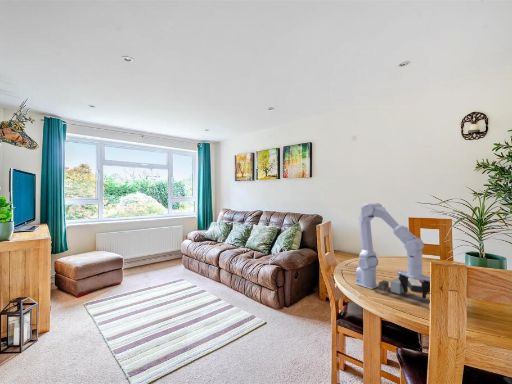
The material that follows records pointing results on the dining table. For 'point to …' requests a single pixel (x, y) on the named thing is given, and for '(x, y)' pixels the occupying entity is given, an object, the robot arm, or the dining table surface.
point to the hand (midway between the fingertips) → (414, 294)
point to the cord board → (402, 295)
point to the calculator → (415, 285)
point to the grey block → (396, 286)
